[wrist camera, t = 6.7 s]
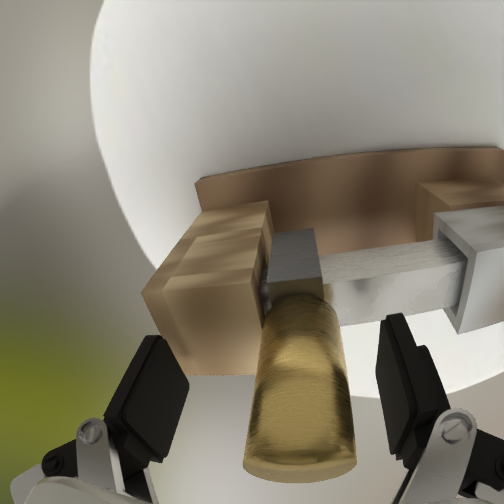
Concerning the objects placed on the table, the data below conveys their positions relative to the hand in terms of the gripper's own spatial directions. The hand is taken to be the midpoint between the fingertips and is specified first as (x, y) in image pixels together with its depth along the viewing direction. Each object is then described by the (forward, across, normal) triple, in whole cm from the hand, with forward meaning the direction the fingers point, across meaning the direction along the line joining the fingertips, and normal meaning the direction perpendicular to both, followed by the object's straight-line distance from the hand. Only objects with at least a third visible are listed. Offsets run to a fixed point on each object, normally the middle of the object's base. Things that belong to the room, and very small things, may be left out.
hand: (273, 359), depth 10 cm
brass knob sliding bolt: (+6, -4, 0) cm, 7 cm away
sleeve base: (+12, -7, 0) cm, 14 cm away
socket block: (+11, +3, 0) cm, 11 cm away
